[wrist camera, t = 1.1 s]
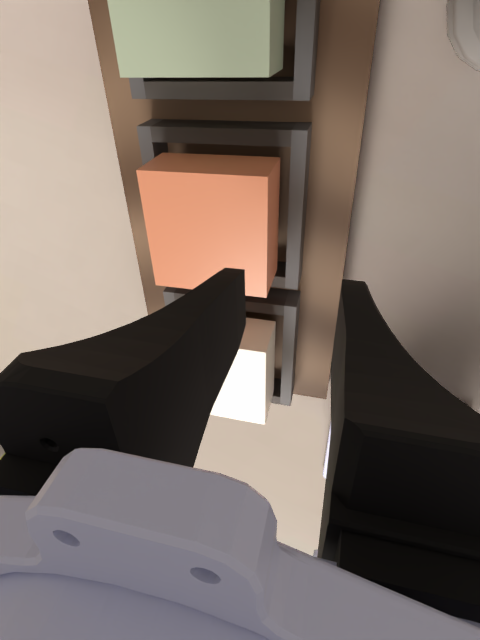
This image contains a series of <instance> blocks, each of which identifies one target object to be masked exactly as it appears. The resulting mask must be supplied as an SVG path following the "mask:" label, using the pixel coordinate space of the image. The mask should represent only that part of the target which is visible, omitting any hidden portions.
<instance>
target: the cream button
mask: <svg viewBox="0 0 480 640" xmlns="http://www.w3.org/2000/svg"><path fill="white" fill-rule="evenodd" d="M275 329H276V321H270V320H262V319H254V318H246V326H245V329H244V333H243V336H242V340H241V343H240V347H239V350H238V352H237V355H236V357H235V359H234V361H233V364H232V366H231V368H230V370H229V373H228V375H227V377H226V379H225V381H224V383H223V386H222V388H221V390H220V392H219V394H218V397H217V399H216V401H215V403H214V406H213V408H212V411H211V413H210V415H215V416H220V417H226V418H231V419H237V420H242V421H248V422H253V423H259V424H264V425H265V423H266V419H267V415H268V411H269V407H270V404H271V400H272V396H273V392H274V364H275Z"/></svg>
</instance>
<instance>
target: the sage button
mask: <svg viewBox="0 0 480 640" xmlns="http://www.w3.org/2000/svg"><path fill="white" fill-rule="evenodd" d="M107 2H108V8H109V14H110V20H111V26H112V32H113V38H114V43H115V49H116V55H117V61H118V67H119V73H120V78H201V77H271V76H272V75H274V74H275V73H277V72H278V71H280V70H282V69H283V48H284V12H285V0H107Z"/></svg>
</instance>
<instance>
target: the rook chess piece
mask: <svg viewBox="0 0 480 640" xmlns="http://www.w3.org/2000/svg"><path fill="white" fill-rule="evenodd" d="M447 35H448V38H449V40H450V42H451V44H452V46H453V48H454V50H455V52H456V54H457V56H458V58H460V59H461V60H462V61H464V62H465V63H467V64H468V65H469V66H471V67H472V68H474V69H475V70H476V71H480V0H448V3H447Z"/></svg>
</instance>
